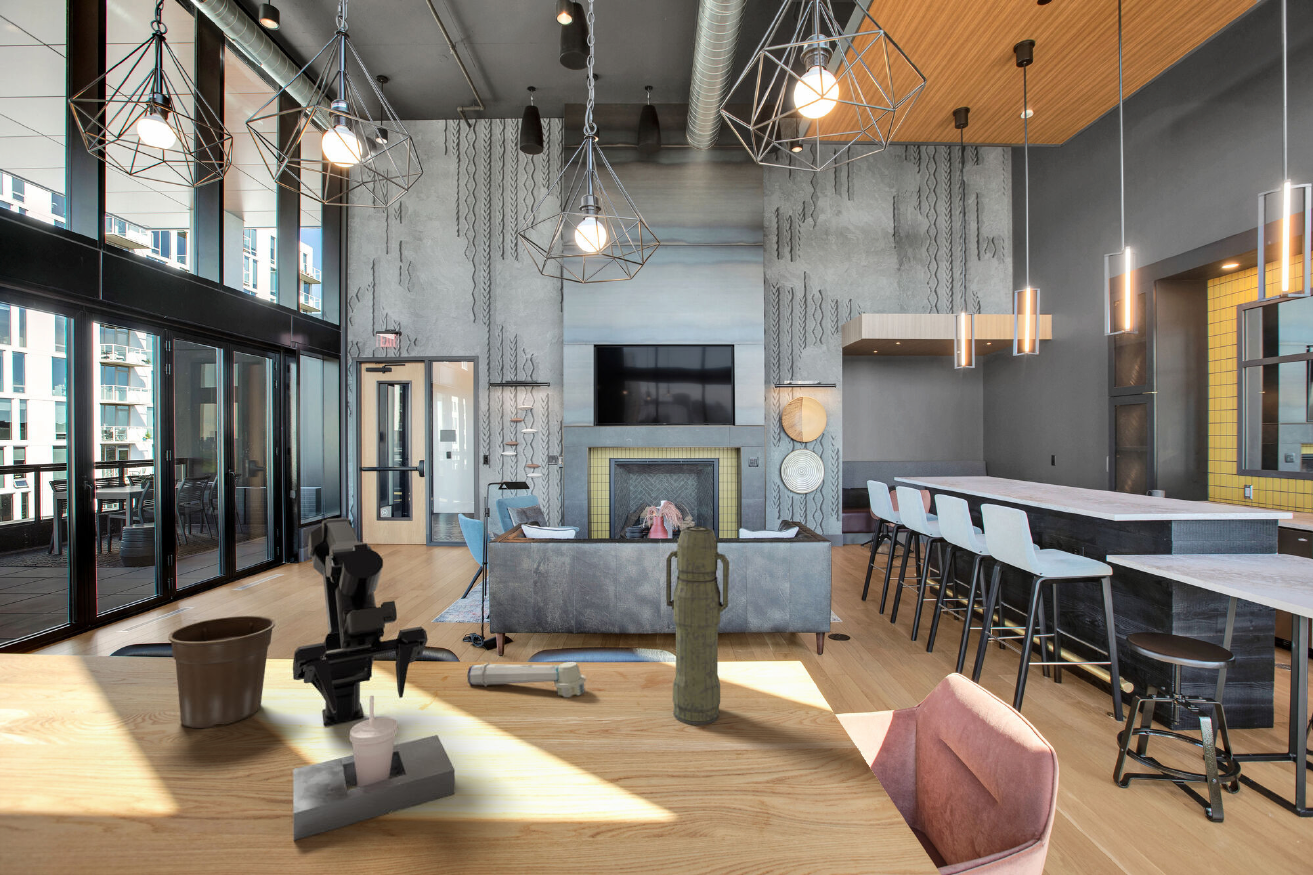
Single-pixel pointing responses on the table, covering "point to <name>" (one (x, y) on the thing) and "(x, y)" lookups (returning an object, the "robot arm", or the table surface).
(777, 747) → the table surface
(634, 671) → the table surface
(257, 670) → the plant pot
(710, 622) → the thermos
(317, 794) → the block
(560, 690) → the toothbrush head
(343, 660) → the robot arm
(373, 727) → the smoothie
